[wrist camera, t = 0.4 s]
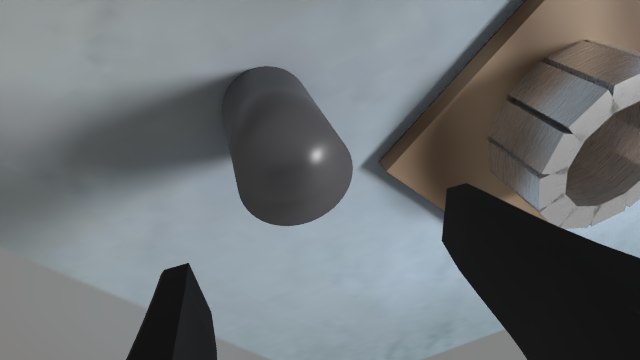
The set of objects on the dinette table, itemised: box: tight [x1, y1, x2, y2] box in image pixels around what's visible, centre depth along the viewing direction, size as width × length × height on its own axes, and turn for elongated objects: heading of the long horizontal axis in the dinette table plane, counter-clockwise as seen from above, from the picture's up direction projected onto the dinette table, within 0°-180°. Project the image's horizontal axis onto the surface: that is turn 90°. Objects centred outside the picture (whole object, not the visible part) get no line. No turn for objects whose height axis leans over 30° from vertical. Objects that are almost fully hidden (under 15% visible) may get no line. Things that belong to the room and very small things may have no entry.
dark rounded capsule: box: [222, 66, 353, 226], centre depth 16 cm, size 4×4×6 cm
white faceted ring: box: [487, 40, 640, 229], centre depth 21 cm, size 9×9×4 cm
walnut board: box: [379, 0, 640, 221], centre depth 23 cm, size 16×14×1 cm
